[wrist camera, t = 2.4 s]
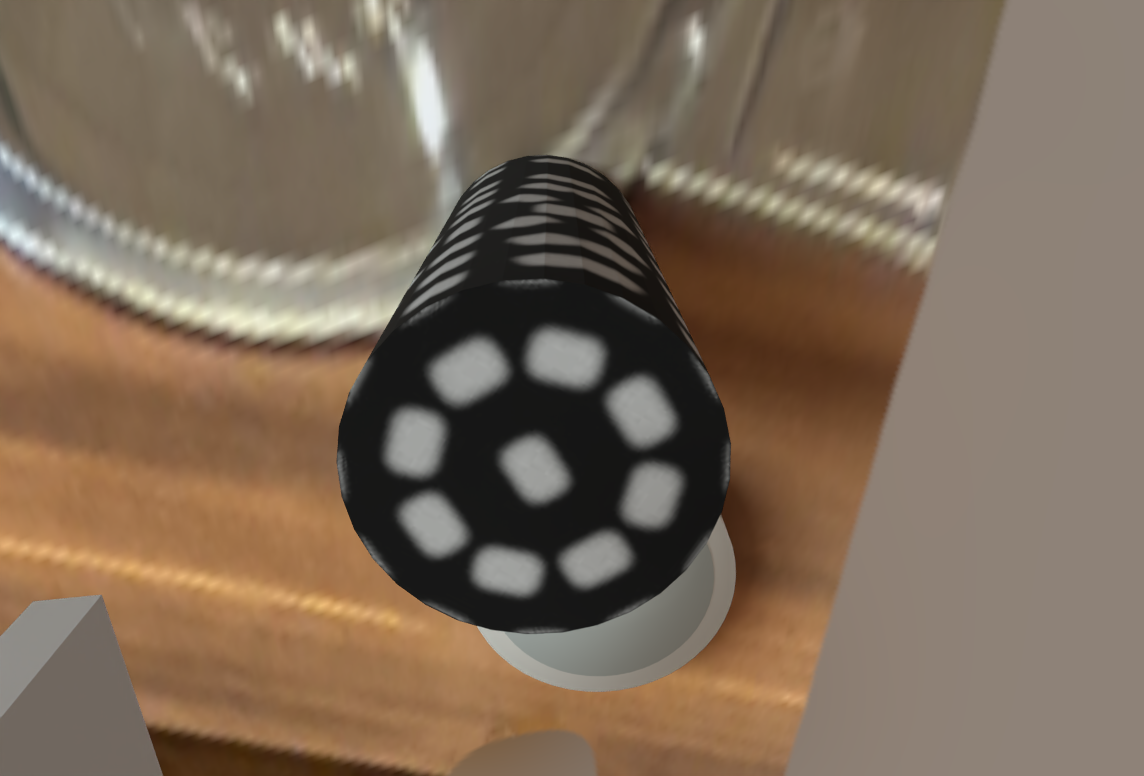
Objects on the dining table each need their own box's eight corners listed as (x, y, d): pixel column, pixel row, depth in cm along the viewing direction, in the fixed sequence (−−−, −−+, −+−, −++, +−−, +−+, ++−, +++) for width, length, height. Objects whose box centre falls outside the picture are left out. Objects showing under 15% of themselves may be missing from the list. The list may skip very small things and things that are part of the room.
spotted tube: (404, 222, 37) (254, 408, 18) (579, 114, 36) (608, 198, 17) (511, 384, 40) (475, 689, 21) (677, 290, 38) (796, 528, 20)
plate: (479, 655, 45) (474, 698, 42) (461, 435, 41) (454, 465, 38) (720, 646, 45) (731, 689, 42) (728, 425, 41) (741, 456, 38)
